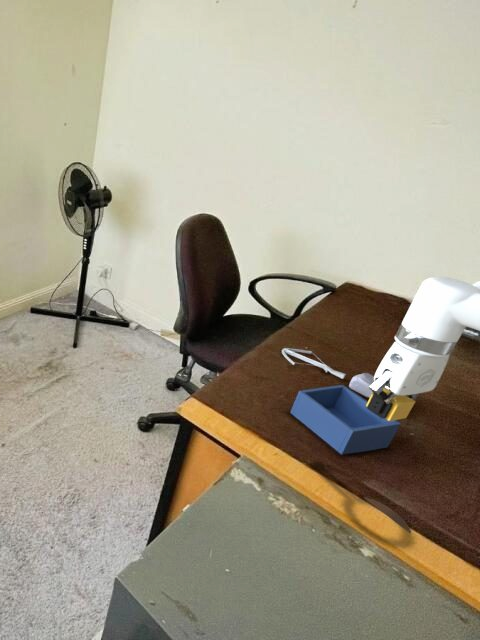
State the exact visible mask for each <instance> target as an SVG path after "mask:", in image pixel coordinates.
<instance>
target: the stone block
mask: <svg viewBox="0 0 480 640" xmlns="http://www.w3.org/2000/svg"><path fill="white" fill-rule="evenodd" d="M374 376H375V375H372V374H370V373H368V372H362V373H361V374H356V375H354V376H353V377H352V378H351V379H350V382H349V385H348V387H349V389H350V390H351V391H353V392H355V393H357V394H360V395H362V396H364V397H366V398H367V399H370V397H371V395H372V393H373V391H372V390H371V389H369V387H370V386H371V385H372V384H373V383H374V382H375V381H374ZM387 385H389V386H390V384H389V383H388V384H387ZM412 400H414V399H412Z"/></svg>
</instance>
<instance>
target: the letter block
mask: <svg viewBox="0 0 480 640" xmlns="http://www.w3.org/2000/svg"><path fill="white" fill-rule="evenodd" d="M383 391H384V392H386V394H387V395H389V393H390V391H389V390H387V389H385V388H384V389H383ZM372 396H373V394H372V395H371V397H370V398H368V400H367V401H368V402H367V404H366V406H368V404H369V402H370V400H371V398H372ZM391 403H392V404H393V405H392V407H391V409H390V411H389V413H388V415H387V416H386V418H385V419H387V420H388V421H393V420H396V421H398V420H403V419H407V417H408V416H409V414H410V412H411V410H412V408H413V407H414V405H415V404H416V400H415V399H413V400H412V399H411V398H409V397H407V396H406V395H405V396H398V395H396V396H395V398H394V399H393V400H392V402H391Z"/></svg>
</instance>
